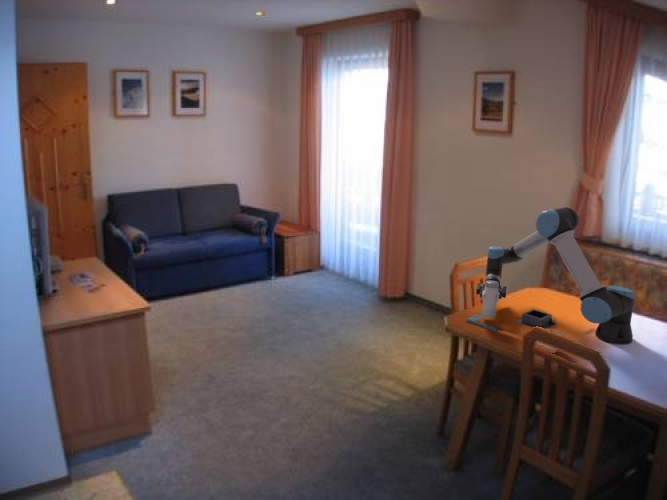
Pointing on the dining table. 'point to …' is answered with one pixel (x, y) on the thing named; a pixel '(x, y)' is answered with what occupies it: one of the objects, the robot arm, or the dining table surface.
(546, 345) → the lidded jar
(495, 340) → the dining table surface
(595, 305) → the robot arm
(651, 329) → the dining table surface
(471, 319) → the mat
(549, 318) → the housing
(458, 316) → the dining table surface
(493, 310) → the cylinder
